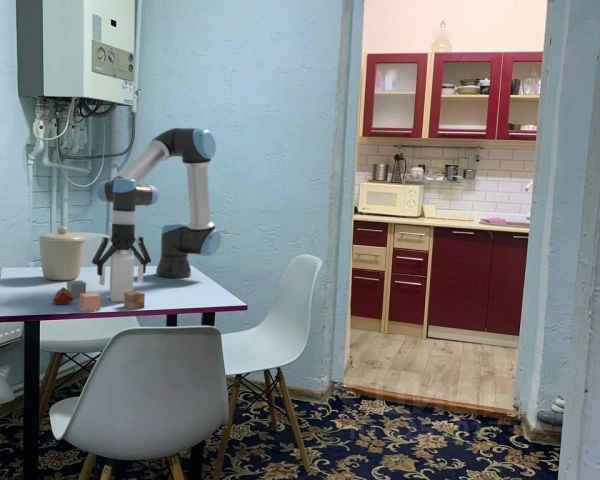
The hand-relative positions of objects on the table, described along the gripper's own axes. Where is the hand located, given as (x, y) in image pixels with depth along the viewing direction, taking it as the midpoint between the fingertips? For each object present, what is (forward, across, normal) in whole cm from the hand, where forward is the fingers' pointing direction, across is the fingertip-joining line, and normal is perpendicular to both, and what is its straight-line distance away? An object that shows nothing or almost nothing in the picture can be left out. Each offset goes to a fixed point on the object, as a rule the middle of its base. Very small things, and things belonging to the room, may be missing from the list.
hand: (121, 283), depth 199 cm
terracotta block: (+6, +14, +10) cm, 18 cm away
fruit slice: (+6, +19, -1) cm, 20 cm away
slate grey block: (+6, +12, -11) cm, 17 cm away
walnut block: (+6, 0, +12) cm, 13 cm away
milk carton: (+6, 0, 0) cm, 6 cm away
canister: (+6, +8, -44) cm, 45 cm away
